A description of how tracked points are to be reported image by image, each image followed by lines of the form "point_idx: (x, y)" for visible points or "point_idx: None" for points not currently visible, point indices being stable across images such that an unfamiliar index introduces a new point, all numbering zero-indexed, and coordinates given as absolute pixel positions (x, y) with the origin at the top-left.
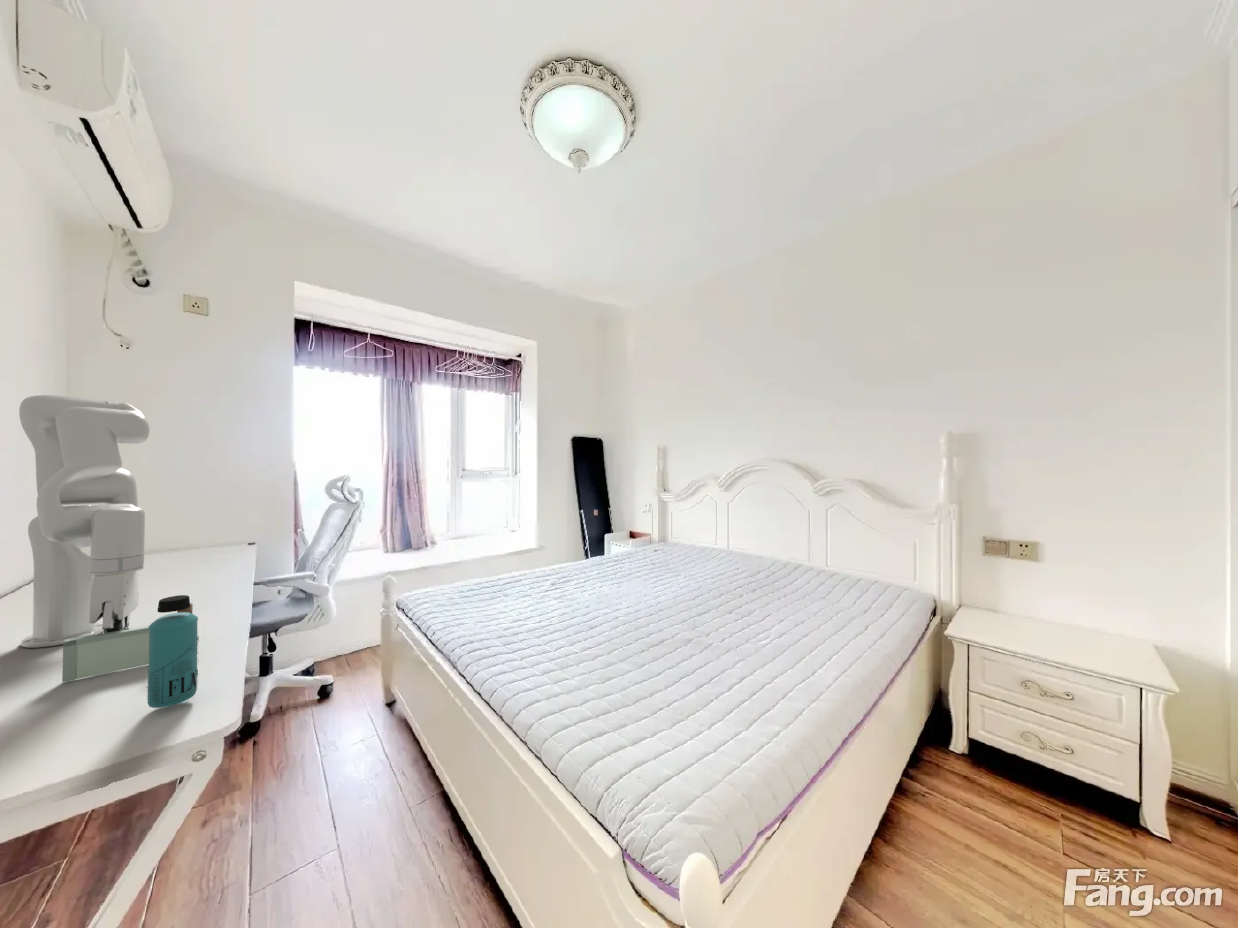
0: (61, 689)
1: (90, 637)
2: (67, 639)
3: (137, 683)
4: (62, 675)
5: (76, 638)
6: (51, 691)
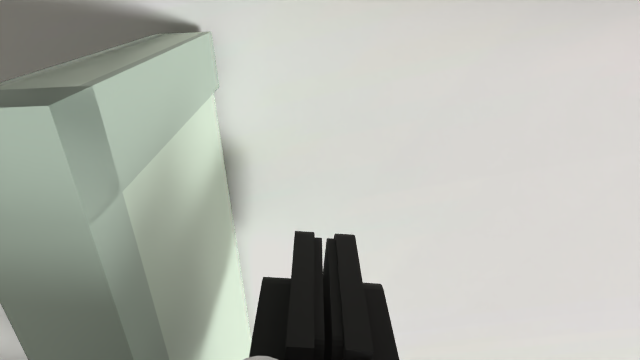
0: (71, 51)
1: (22, 334)
2: (31, 131)
3: (5, 318)
4: (135, 40)
5: (43, 219)
6: (61, 8)
